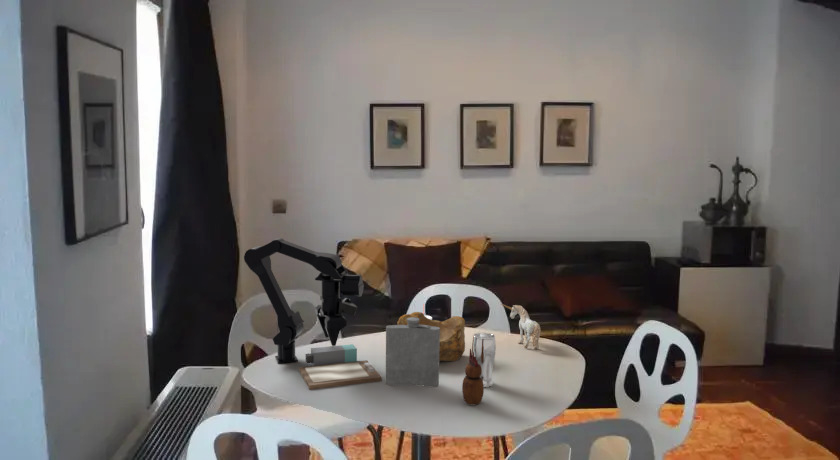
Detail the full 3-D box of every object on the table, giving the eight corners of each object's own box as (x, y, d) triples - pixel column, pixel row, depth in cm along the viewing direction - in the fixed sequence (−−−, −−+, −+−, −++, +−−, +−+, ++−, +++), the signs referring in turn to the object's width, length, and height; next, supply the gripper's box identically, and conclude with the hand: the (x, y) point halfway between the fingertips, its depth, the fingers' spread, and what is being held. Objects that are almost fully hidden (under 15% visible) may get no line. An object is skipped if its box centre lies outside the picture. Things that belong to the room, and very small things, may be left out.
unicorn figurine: (514, 336, 248) (515, 301, 246) (551, 350, 232) (553, 313, 230) (499, 339, 244) (500, 303, 242) (536, 353, 228) (537, 316, 226)
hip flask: (384, 385, 197) (385, 319, 194) (386, 380, 201) (387, 316, 198) (438, 387, 196) (439, 321, 193) (438, 382, 200) (440, 317, 197)
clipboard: (299, 371, 207) (299, 364, 207) (366, 363, 215) (367, 357, 215) (309, 389, 192) (309, 382, 192) (381, 380, 200) (381, 373, 200)
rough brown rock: (393, 370, 212) (395, 326, 209) (396, 349, 228) (398, 308, 225) (465, 374, 212) (468, 330, 208) (463, 353, 228) (466, 312, 224)
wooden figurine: (460, 398, 188) (461, 346, 186) (480, 397, 188) (482, 346, 186) (464, 407, 181) (465, 354, 179) (484, 407, 181) (486, 354, 179)
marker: (304, 363, 214) (304, 348, 214) (352, 358, 220) (352, 344, 219) (307, 368, 210) (307, 353, 209) (356, 363, 215) (356, 348, 215)
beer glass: (493, 389, 195) (494, 339, 193) (469, 387, 196) (471, 338, 194) (495, 380, 201) (496, 333, 199) (472, 378, 203) (473, 331, 201)
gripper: (362, 299, 206) (362, 347, 208) (347, 286, 223) (347, 331, 225) (327, 301, 202) (327, 351, 204) (315, 288, 219) (315, 334, 221)
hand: (330, 341), depth 214 cm, fingers open, 9 cm apart
